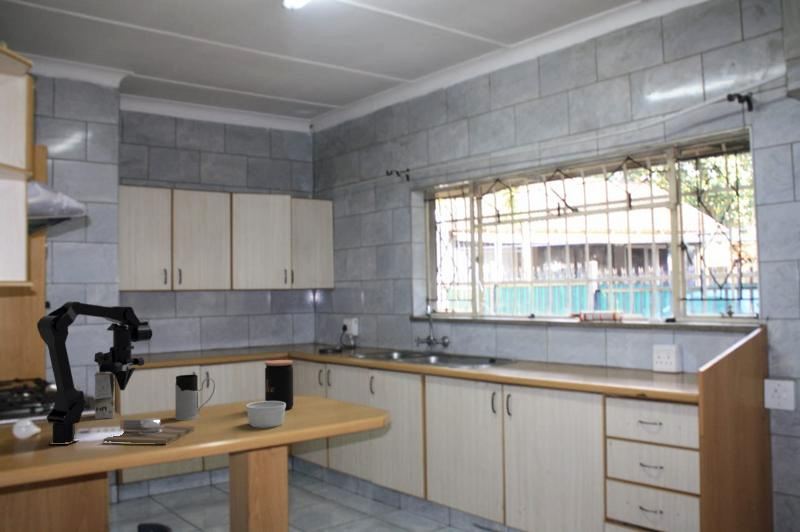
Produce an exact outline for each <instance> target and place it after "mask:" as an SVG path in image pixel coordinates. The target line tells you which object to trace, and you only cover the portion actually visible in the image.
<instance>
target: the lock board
mask: <svg viewBox="0 0 800 532" xmlns="http://www.w3.org/2000/svg"><path fill="white" fill-rule="evenodd" d="M192 430H194V431H195V425H174V424H173V425H171V424H170V425H169V424H168V425H166V424H165V425H163V424H161V430H160V431H157V432H151V433H143V432H140V430H123V431H124V433H123V434H122V435H120V436H113V437H109V436H107V437H105V438H103V442H104V441H107V442H109V441H111V442H131V443H155V444H166V443H168V442H170V441H173V440H175V439H177V438H179V437H181V436H182V437H184V436H186V435H188V434H190V433H191V432H190V431H192ZM189 432H190V433H189ZM192 432H193V431H192ZM187 433H188V434H187ZM185 434H186V435H185ZM183 435H184V436H183ZM182 437H181V438H182ZM179 439H180V438H179ZM177 440H178V439H177ZM175 441H176V440H175ZM173 442H174V441H173Z"/></svg>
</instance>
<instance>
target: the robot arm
mask: <svg viewBox="0 0 800 532" xmlns="http://www.w3.org/2000/svg"><path fill="white" fill-rule="evenodd" d="M78 316H86V317H94V318H101V319H104V320H106V321H107V322H112V323H111V325H109V326H108V327H107V328H106V330H107V331H110V332H112V346H110V347H109V351H108V352H105V353H104V352H102V351H99V352H96V353H94V358H93V359H94V362H95V363H97V365H98V372H111V373H113V374H114V375H115V378H116V379H115V380H116V381H117V384H118V388H119V391H125V390H126V388H127V386H128V383H129V382H130V379H131V377H132V375H133V373H134V372H135V370H136V368H135V367H133V366H138V367H139V366H140V367H142V366H145V359H144V358H143V357H142V356H132V350H134V349H135V346H134V345H132V343H138V342H139V343H140V342H148V341H150V340H151V339H152V337H153V330H152V327H151V326H150V325H149V321H140V320H139V318H138V316H137V315H136V313H135V311H134V309H133V307H132V306H130V305H111V306H109V305H108V306H104V305H97V304H93V303H92V304H91V303H84V302H83V303H82V302H81V301H66V302H65V303H64V304H63V305H61V306H60V307H58V308H57V309H55V310H53V311H51V312H49V313H48V314H47V315H43V316H42V317H41V318H39V320H38V321H37V323H36V327H37V331H38V333H39V336H40V339H42V340H43V342H44V343H45V345H46V346H47V350H48V354H49V358H50V363H51V367H52V373H53V377H54V382H55V387H56V394H55V397H54V399H53V401H54V402H53V404H54V407H53V408H52V409H51V411H50V412H49V413H48V414H47V416H46V420H47V422H48V423H49V424H52V441H53V443H65V442H71V441H73V439H74V435H75V436H76V424H78V423H80V421H81V418H82V414H83V412H84V411H85V408H86V407H85V404H86V403H87V402H86V401H85V395H84V394H85V393H84V391H83V390H77V388H76V387H75V383H74V379H73V373H72V369H71V365H70V360H69V355H68V350H67V344H66V342H67V339H68V336H69V327H70V326H71V325H73V323H74V322H75V321H76V319H77V317H78ZM118 324H119V325H118Z"/></svg>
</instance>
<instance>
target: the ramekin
mask: <svg viewBox="0 0 800 532" xmlns="http://www.w3.org/2000/svg"><path fill="white" fill-rule="evenodd" d="M245 408H246V411H247V419H248V423H249V425H250V426H251V427H253V428H261V429H266V428H275V427H276V428H277V427H279V426H281V425H282V424H283V423H284V420H285V413H286V410H285V408H286V403H284V402H280V401H265V400H262V401H254V402H250V403H248V404H246V407H245Z"/></svg>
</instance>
